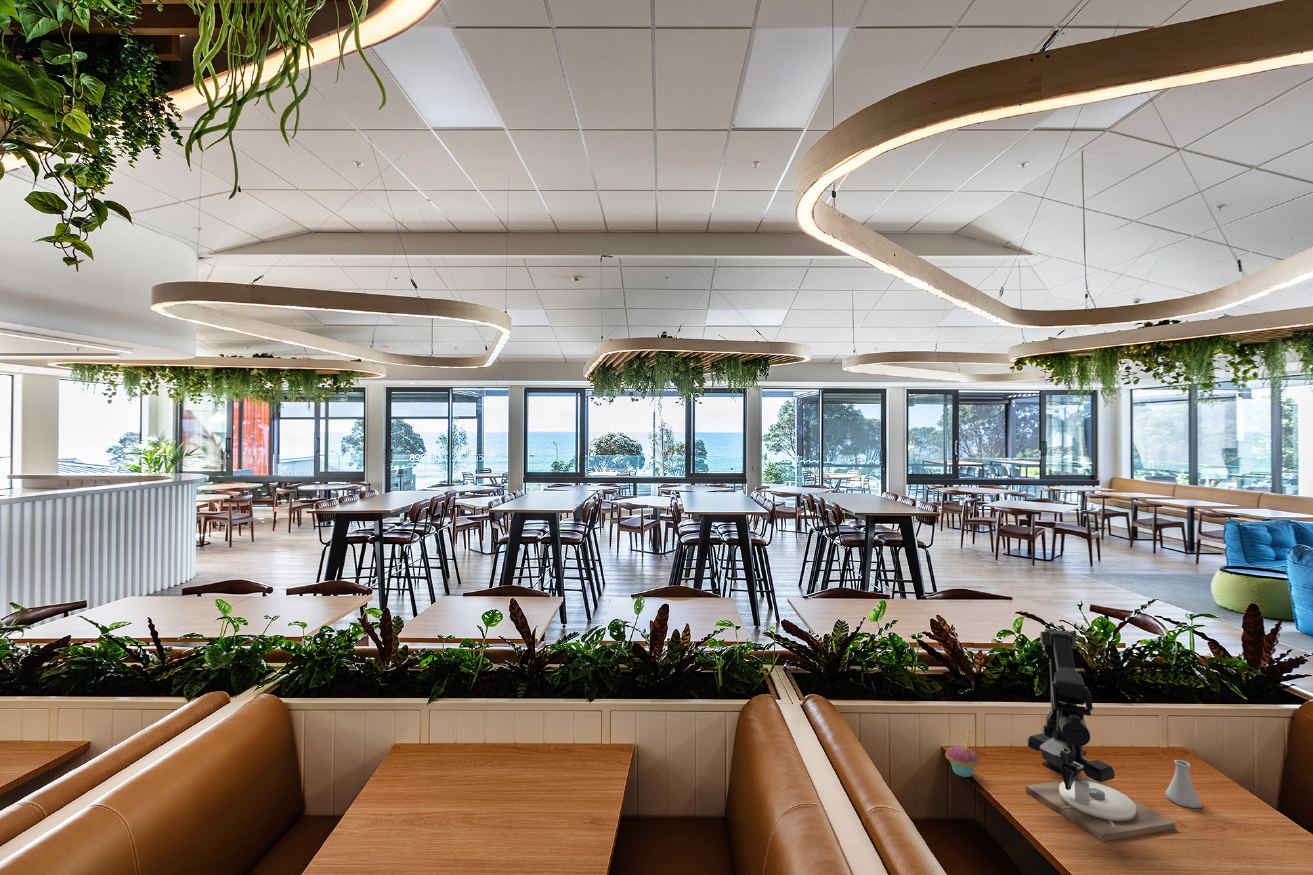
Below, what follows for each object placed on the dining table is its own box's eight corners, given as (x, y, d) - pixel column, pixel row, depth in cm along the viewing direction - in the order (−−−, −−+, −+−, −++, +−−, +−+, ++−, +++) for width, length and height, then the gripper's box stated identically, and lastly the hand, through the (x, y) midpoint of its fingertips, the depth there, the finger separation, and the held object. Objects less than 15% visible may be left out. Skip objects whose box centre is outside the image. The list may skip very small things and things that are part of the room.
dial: (1081, 780, 165) (1081, 756, 165) (1149, 811, 151) (1149, 784, 151) (1045, 793, 158) (1045, 768, 159) (1113, 827, 144) (1112, 799, 144)
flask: (1209, 810, 154) (1207, 771, 154) (1176, 807, 156) (1175, 768, 156) (1190, 795, 161) (1189, 757, 162) (1159, 792, 163) (1158, 754, 163)
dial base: (1025, 791, 163) (1025, 784, 163) (1091, 781, 168) (1091, 775, 168) (1102, 841, 141) (1102, 834, 141) (1175, 828, 146) (1175, 821, 146)
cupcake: (976, 768, 175) (975, 726, 175) (981, 783, 167) (981, 739, 167) (943, 763, 178) (943, 722, 178) (947, 777, 170) (947, 734, 170)
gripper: (1014, 717, 161) (1012, 776, 161) (1087, 752, 143) (1085, 817, 143) (1042, 711, 165) (1040, 768, 165) (1116, 744, 148) (1114, 807, 148)
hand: (1068, 789), depth 155 cm, fingers closed
